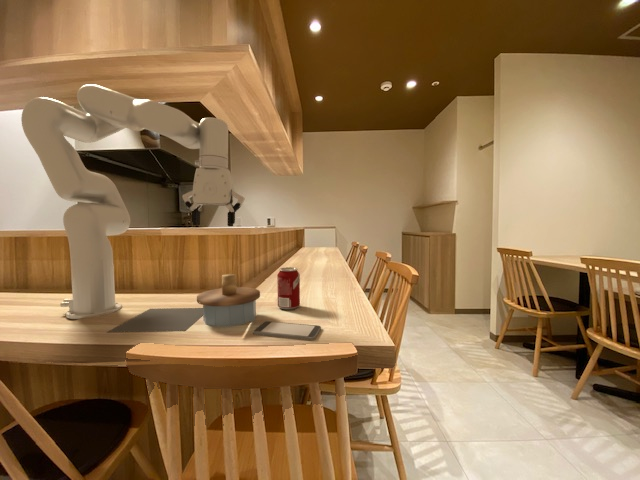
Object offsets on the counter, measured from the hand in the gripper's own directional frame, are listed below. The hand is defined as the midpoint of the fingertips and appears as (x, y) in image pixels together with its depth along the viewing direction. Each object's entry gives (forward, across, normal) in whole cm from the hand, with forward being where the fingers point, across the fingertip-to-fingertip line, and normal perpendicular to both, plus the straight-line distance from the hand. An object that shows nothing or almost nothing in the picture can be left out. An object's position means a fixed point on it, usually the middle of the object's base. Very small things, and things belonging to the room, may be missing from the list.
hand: (213, 225), depth 79 cm
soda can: (+25, +22, +4) cm, 33 cm away
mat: (+26, -10, -7) cm, 28 cm away
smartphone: (+25, +23, -15) cm, 37 cm away
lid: (+19, +7, -6) cm, 21 cm away
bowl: (+25, +7, -6) cm, 27 cm away
